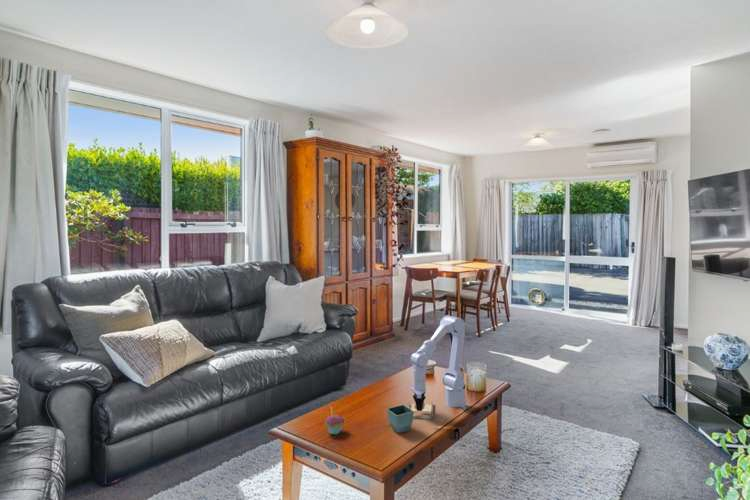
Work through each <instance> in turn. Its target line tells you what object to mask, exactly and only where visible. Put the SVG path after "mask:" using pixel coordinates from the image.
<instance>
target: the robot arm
mask: <svg viewBox="0 0 750 500" xmlns="http://www.w3.org/2000/svg"><path fill="white" fill-rule="evenodd" d="M465 326H466V322H465V320H463V319H462V318H461V317H457V316H451V315H449V314H446V315H444V316H443V317H442V319H441V320H440V322H439V326H438V327H437V328H436V330H435V332H434V333H433V335H432V336H431V338H430V339H426V340H425V341H423V344H422V345H421V346H420V347H419V348H418V349H417V351H415V352H414V353H412V355H411V356H410V358H409V361H410V364H411V365H412V387H410V391H413V393H414V394H412V397H413V400H414V402H415V403H416V408H417V412H423V411H422V407H423V402H424V403H425V399H426V395H425V394H426V391H427V387H426V384H427V383H426V382H427V381H426V366H427V365H428V363H429V359H430V356H431V355H432V354H433V353H434V351H436V349H437V343H438V342H439V341H440V340H441V339H443V337H444V336H445V335H446V334H448V333H451V335H452V342H451V349H450V355H449V356H450V357H449V364H448V368H446V369H444V374H443V376H442V381H441V382H442V384H443V385H444V388H445V405H446V406H447V407H450V408H462V410H463V411H466V405H467V400H466V389H465V388H464V386H465V380H464V378H465V377H464V376H465V375H464V373H463V372H462V370H461V367H462V361H463V360H462V359H463V358H462V357H463V351H464V343H465V335H466V331H465V328H466V327H465Z"/></svg>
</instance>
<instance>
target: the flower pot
mask: <svg viewBox="0 0 750 500" xmlns="http://www.w3.org/2000/svg"><path fill="white" fill-rule="evenodd" d="M386 414H387V420H388V423H389V426H390V427H391V429H392V430H393V431H395V432H396V433H397V434H402V433H404V432H405V433H406V432H409V430H411V427H412V425H413V422H414V418H413V415H414V411H413V410H411V409H409V408H408V407H407V406H406V405H405V404H400V405H397V406H392V407H388V408H386Z"/></svg>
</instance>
